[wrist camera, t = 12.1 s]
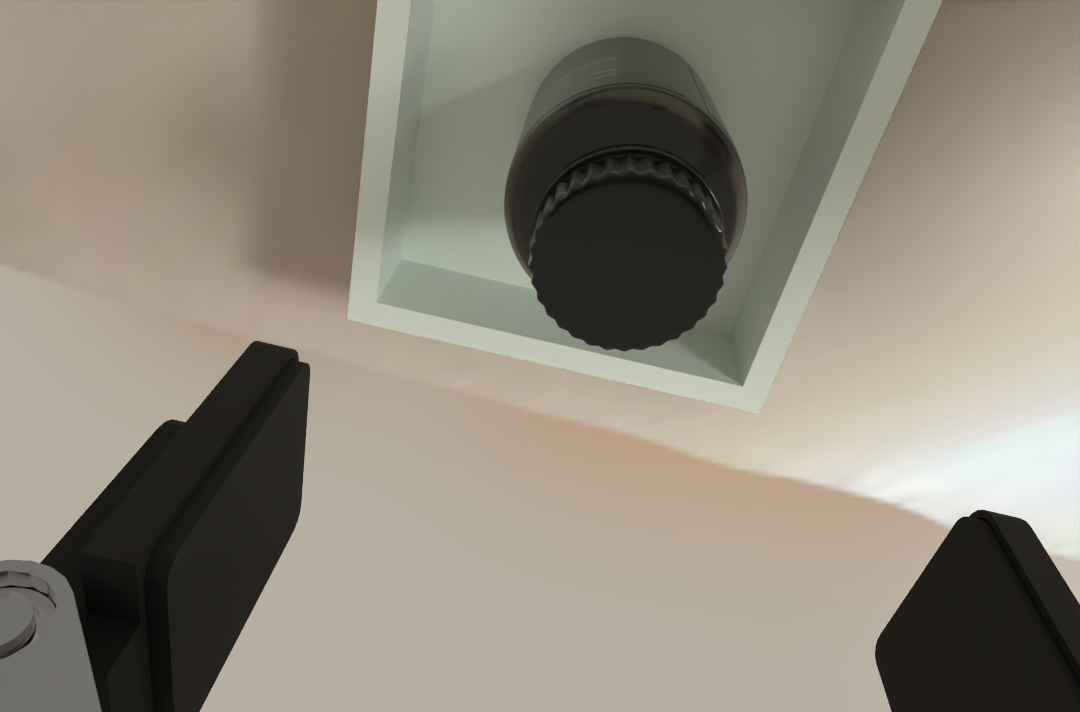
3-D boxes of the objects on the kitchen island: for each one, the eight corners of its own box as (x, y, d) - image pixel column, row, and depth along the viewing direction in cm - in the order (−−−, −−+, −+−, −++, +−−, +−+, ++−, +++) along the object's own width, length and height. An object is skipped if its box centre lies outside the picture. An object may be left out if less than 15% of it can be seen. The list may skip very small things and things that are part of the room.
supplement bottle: (527, 215, 31) (481, 377, 21) (529, 29, 27) (477, 112, 17) (703, 225, 30) (746, 395, 20) (728, 37, 27) (796, 127, 17)
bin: (906, -56, 26) (963, -46, 22) (741, 348, 34) (759, 413, 30) (433, -176, 25) (395, -189, 21) (381, 265, 34) (346, 319, 29)
